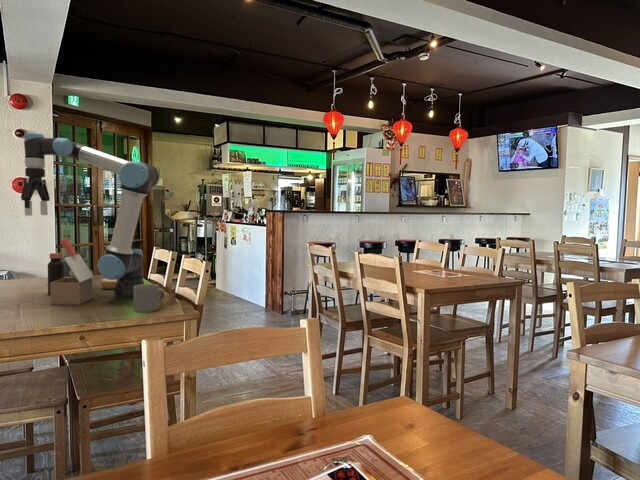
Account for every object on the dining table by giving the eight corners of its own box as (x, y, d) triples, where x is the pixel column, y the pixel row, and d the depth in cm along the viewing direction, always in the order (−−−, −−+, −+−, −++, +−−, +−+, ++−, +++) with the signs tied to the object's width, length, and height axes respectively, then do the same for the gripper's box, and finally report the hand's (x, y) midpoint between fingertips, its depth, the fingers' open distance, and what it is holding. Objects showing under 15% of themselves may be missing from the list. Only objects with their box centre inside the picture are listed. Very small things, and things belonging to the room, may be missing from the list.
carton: (92, 298, 211) (92, 277, 210) (79, 305, 197) (79, 282, 196) (65, 298, 209) (64, 277, 209) (50, 305, 195) (50, 282, 195)
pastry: (99, 291, 231) (98, 274, 230) (103, 287, 242) (102, 270, 241) (124, 290, 234) (123, 273, 233) (127, 285, 245) (126, 269, 244)
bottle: (64, 292, 224) (63, 252, 223) (64, 295, 218) (63, 253, 217) (48, 293, 220) (47, 253, 219) (48, 296, 215) (47, 254, 213)
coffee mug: (138, 313, 184) (138, 289, 183) (130, 308, 191) (130, 285, 191) (170, 308, 192) (170, 285, 192) (161, 304, 200) (161, 282, 199)
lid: (92, 277, 210) (96, 275, 210) (79, 282, 196) (83, 280, 196) (69, 240, 208) (72, 237, 208) (54, 242, 193) (58, 240, 194)
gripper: (40, 170, 215) (41, 214, 216) (10, 165, 190) (12, 215, 191) (57, 170, 215) (58, 214, 217) (29, 165, 191) (30, 215, 192)
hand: (36, 215), depth 204 cm, fingers open, 13 cm apart
